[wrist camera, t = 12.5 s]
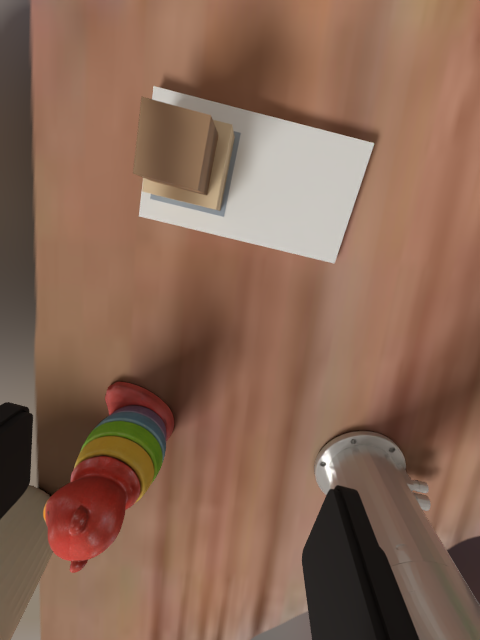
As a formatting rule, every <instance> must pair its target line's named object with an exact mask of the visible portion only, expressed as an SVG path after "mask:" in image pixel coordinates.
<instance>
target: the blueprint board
mask: <svg viewBox="0 0 480 640" xmlns="http://www.w3.org/2000/svg"><path fill="white" fill-rule="evenodd" d="M152 100H156V101H160V102H164V103H167V104H171V105H175V106H179V107H182V108H186V109H190V110H193V111H197V112H201V113H205V114H208V115H211V116H212V119H213V120H216V121H220V122H224V123H228V124H232V126H233V131H234V136H235V138H234V144H233V149H232V154H231V159H230V164H229V169H228V174H227V179H226V184H225V189H224V194H223V199H222V205H221V210H220V211H219V210H214V209H210V208H206V207H202V206H198V205H194V204H190V203H186V202H182V201H178V200H174V199H170V198H165V197H161V196H157V195H153V194H150V193H146V192H143V191H142V193H141V202H140V211H139V216H140V217H144V218H149V219H153V220H157V221H161V222H165V223H169V224H173V225H178V226H182V227H186V228H190V229H194V230H198V231H202V232H206V233H211V234H215V235H219V236H223V237H227V238H231V239H235V240H240V241H244V242H248V243H252V244H256V245H260V246H264V247H268V248H273V249H277V250H281V251H285V252H289V253H293V254H297V255H302V256H306V257H310V258H314V259H318V260H322V261H326V262H331V263H335V260H336V257H337V254H338V251H339V248H340V245H341V242H342V239H343V236H344V233H345V230H346V227H347V224H348V221H349V218H350V215H351V212H352V209H353V206H354V203H355V200H356V197H357V194H358V191H359V188H360V185H361V182H362V179H363V176H364V173H365V170H366V167H367V164H368V161H369V158H370V155H371V152H372V149H373V146H374V143H372V142H368V141H364V140H360V139H356V138H352V137H348V136H345V135H341V134H337V133H333V132H329V131H325V130H321V129H317V128H314V127H310V126H306V125H302V124H298V123H294V122H290V121H287V120H283V119H279V118H275V117H271V116H267V115H263V114H260V113H256V112H252V111H248V110H244V109H240V108H236V107H232V106H229V105H225V104H221V103H217V102H213V101H209V100H205V99H202V98H198V97H194V96H190V95H186V94H182V93H178V92H175V91H171V90H167V89H163V88H159V87H155V86H154V88H153V96H152ZM142 187H143V185H142Z"/></svg>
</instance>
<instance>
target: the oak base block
mask: <svg viewBox="0 0 480 640" xmlns="http://www.w3.org/2000/svg"><path fill="white" fill-rule="evenodd" d="M213 122H214V124H215V127H216V130H217V132H218V141H217V146H216V151H215V157H214V162H213V167H212V172H211V178H210V183H209V188H208V193H207V195H203V194H199V193H195V192H191V191H187V190H183V189H179V188H175V187H172V186H168V185H164V184H160V183H156V182H153V181H150V180H148V179H145V178H143V187H142V191H143V192H146V193H150V194H153V195H157V196H161V197H165V198H170V199H174V200H178V201H182V202H186V203H190V204H194V205H198V206H202V207H206V208H210V209H214V210H219V211H220V210H221V205H222V199H223V194H224V189H225V184H226V179H227V174H228V169H229V164H230V159H231V154H232V149H233V144H234V138H235V136H234V131H233V126H232V124H228V123H224V122H220V121H216V120H213Z"/></svg>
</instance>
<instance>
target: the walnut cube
mask: <svg viewBox="0 0 480 640" xmlns="http://www.w3.org/2000/svg"><path fill="white" fill-rule="evenodd" d="M217 141H218V132H217V130H216V127H215V124H214V122H213V119H212V116H211V115H208V114H205V113H201V112H197V111H193V110H190V109H186V108H182V107H179V106H175V105H171V104H167V103H164V102H160V101H156V100H152V99H149V98H145V97H141V105H140V114H139V123H138V132H137V141H136V150H135V159H134V168H133V174H136V175H138V176H141V177H143V178H145V179H148V180H150V181H153V182H156V183H160V184H164V185H168V186H172V187H175V188H179V189H183V190H187V191H191V192H195V193H199V194H203V195H207V193H208V188H209V183H210V178H211V172H212V167H213V162H214V157H215V151H216V146H217Z"/></svg>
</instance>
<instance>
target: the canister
mask: <svg viewBox="0 0 480 640" xmlns="http://www.w3.org/2000/svg"><path fill="white" fill-rule="evenodd" d="M49 498H50V496H49V494H46V493H45V492H44V491H42V490H40V489H39V488H36V487H34V486H30V485H29V486H28V488H27V490H26V491H25V493H24V494H23V495H22V496H21V497H20V498H19V500H18V501H17V502H16V503H15V504H14V505H13V506H12V507H11V508H10V510H9V511H8V512H7V513H6V514H5V515H4V516H3V517H2V518H1V519H0V640H11V638H12V636H13V634H14V631H15V630H16V628H17V625H18V624H19V622H20V619H21V617H22V615H23V613H24V611H25V609H26V607H27V605H28V603H29V601H30V599H31V597H32V595H33V593H34V591H35V589H36V587H37V585H38V582H39V580H40V578H41V576H42V574H43V572H44V570H45V568H46V566H47V564H48V561H49V559H50V557H51V555H52V553H53V551H52V549H51V547H50V545H49V542H48V527H47V524H46V522H45V520H44V516H43V510H44V507H45V504H46V502H47V500H48V499H49Z"/></svg>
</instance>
